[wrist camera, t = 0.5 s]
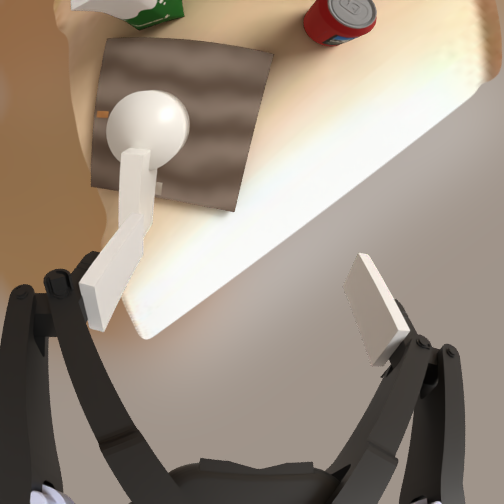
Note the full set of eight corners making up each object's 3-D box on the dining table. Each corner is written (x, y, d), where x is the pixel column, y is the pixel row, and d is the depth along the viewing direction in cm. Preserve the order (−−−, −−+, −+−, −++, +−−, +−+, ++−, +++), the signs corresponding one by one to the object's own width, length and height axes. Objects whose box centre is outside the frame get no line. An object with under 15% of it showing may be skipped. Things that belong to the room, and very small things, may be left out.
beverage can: (333, 55, 31) (364, 45, 21) (293, 30, 30) (309, 8, 19) (356, 25, 28) (392, 8, 18) (317, -1, 26) (340, -29, 16)
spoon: (124, 87, 27) (100, 89, 22) (196, 94, 28) (184, 96, 23) (114, 216, 36) (95, 238, 31) (175, 228, 37) (163, 252, 32)
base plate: (113, 40, 29) (106, 38, 27) (272, 55, 32) (273, 53, 30) (96, 182, 41) (90, 186, 40) (235, 206, 44) (234, 212, 43)
